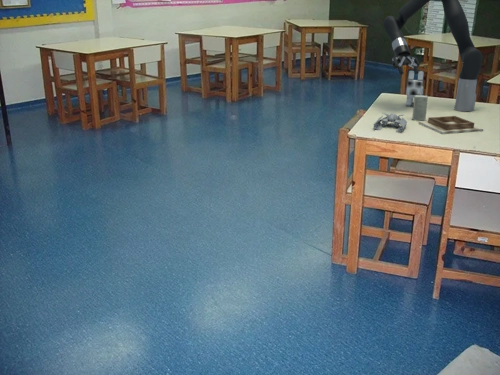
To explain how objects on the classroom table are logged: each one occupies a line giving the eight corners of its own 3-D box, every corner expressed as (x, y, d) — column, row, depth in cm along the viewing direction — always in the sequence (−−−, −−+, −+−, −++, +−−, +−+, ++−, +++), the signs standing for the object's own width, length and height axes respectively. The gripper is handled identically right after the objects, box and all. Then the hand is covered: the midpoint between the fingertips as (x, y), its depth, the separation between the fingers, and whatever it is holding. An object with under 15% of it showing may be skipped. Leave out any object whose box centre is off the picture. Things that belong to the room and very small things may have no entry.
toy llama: (422, 102, 307) (426, 68, 300) (418, 109, 292) (422, 72, 285) (408, 101, 310) (412, 67, 303) (404, 107, 295) (408, 71, 288)
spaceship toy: (372, 131, 248) (373, 118, 246) (379, 122, 265) (381, 109, 263) (402, 134, 243) (403, 121, 241) (408, 124, 260) (409, 112, 258)
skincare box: (425, 119, 270) (428, 95, 265) (424, 121, 266) (427, 97, 262) (412, 117, 272) (415, 94, 268) (411, 119, 268) (414, 96, 264)
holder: (456, 121, 266) (457, 114, 265) (483, 131, 248) (484, 123, 247) (418, 123, 261) (419, 116, 259) (442, 134, 243) (443, 126, 241)
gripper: (391, 44, 274) (400, 69, 268) (416, 43, 278) (425, 69, 272) (385, 53, 281) (394, 78, 275) (409, 52, 284) (418, 77, 278)
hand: (409, 73), depth 273 cm, fingers open, 8 cm apart
